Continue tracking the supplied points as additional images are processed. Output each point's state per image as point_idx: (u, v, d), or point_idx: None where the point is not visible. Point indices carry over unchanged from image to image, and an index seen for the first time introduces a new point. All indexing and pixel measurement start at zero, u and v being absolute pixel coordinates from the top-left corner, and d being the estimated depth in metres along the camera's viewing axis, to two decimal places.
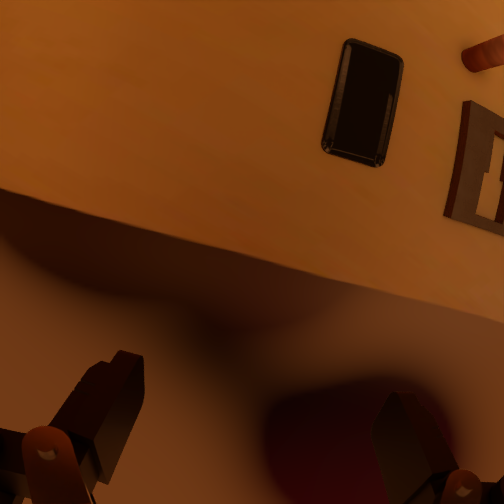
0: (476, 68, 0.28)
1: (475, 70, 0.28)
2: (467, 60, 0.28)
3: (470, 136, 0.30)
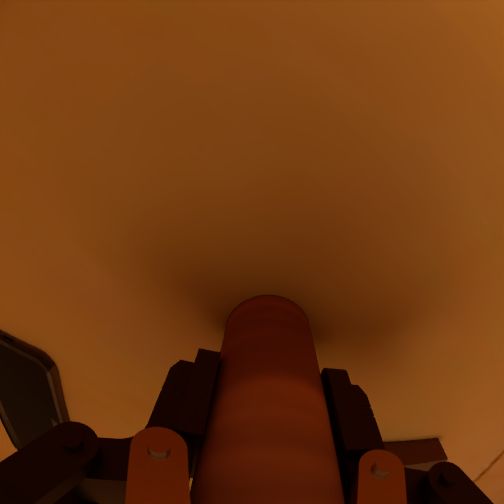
0: None
1: None
2: None
3: None
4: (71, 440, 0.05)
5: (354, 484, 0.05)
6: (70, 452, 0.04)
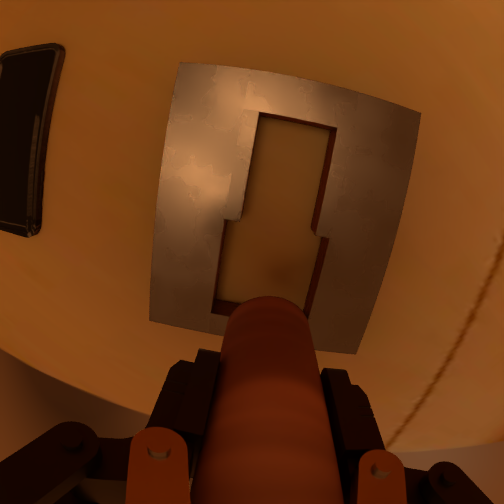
0: None
1: None
2: None
3: (173, 146, 0.16)
4: (71, 440, 0.05)
5: (354, 484, 0.05)
6: (70, 452, 0.04)
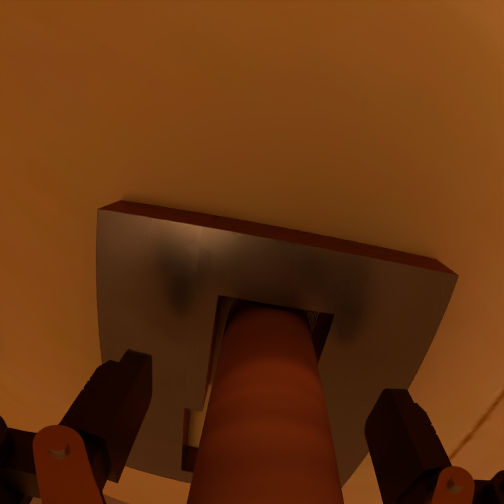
0: None
1: None
2: None
3: (110, 328, 0.12)
4: None
5: None
6: None
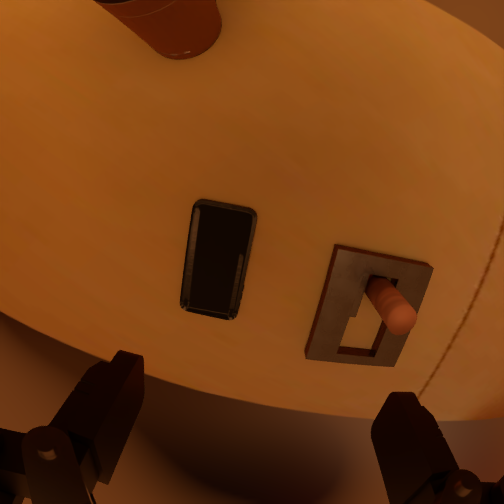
0: None
1: None
2: (366, 293, 0.39)
3: (332, 287, 0.38)
4: None
5: None
6: None
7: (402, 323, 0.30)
